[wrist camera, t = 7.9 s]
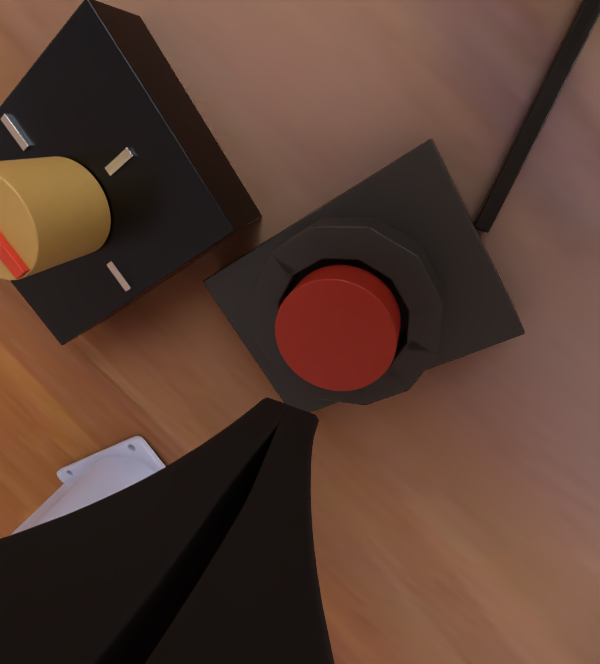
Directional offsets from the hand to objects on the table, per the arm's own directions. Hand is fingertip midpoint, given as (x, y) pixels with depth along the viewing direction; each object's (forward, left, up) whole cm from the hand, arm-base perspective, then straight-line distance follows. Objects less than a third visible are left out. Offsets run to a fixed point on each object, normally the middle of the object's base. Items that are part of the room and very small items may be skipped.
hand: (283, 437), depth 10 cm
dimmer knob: (-8, +10, -7) cm, 14 cm away
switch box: (0, 0, -10) cm, 10 cm away
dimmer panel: (-8, +10, -10) cm, 16 cm away
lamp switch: (0, 0, -7) cm, 7 cm away
